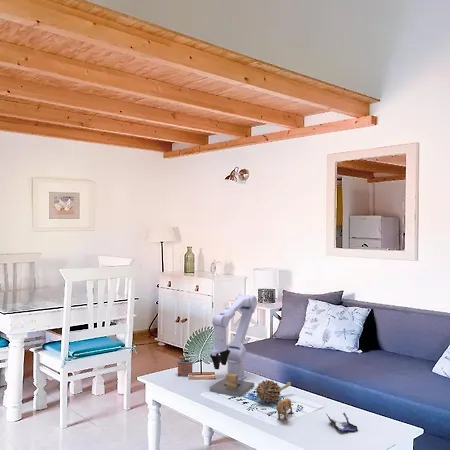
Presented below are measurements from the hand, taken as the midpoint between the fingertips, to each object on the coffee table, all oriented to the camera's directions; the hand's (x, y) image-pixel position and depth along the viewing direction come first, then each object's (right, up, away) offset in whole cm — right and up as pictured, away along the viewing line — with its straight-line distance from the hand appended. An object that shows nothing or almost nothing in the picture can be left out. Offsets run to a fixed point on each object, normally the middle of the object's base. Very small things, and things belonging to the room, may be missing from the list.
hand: (220, 366), depth 240 cm
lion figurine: (+27, -10, -38) cm, 48 cm away
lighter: (-19, -9, +16) cm, 26 cm away
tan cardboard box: (+6, -10, -4) cm, 12 cm away
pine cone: (+25, -10, -18) cm, 32 cm away
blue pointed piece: (+48, -11, -47) cm, 69 cm away
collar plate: (+6, -10, -4) cm, 12 cm away
